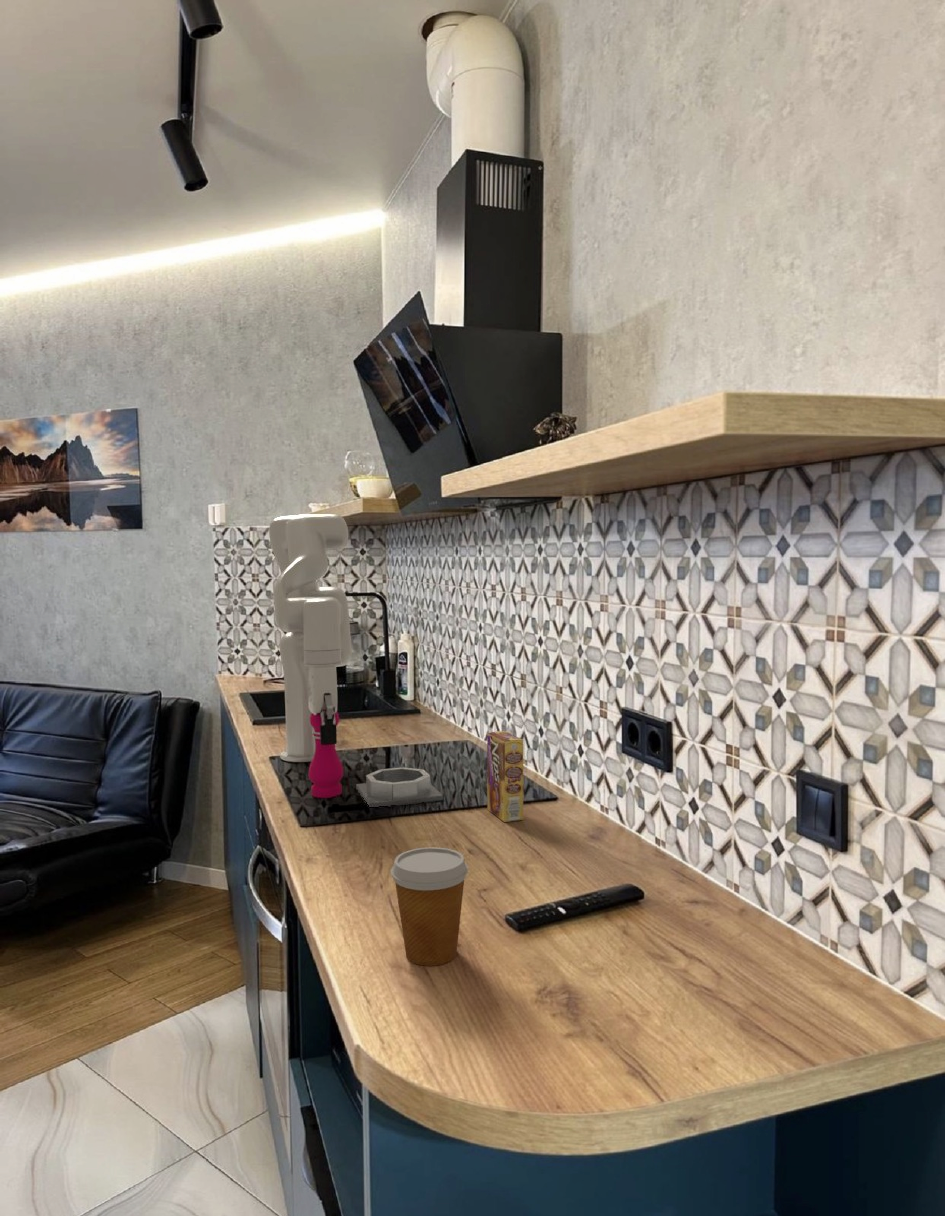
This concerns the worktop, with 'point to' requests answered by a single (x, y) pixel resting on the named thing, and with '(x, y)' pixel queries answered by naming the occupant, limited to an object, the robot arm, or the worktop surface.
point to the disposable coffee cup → (430, 902)
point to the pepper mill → (324, 764)
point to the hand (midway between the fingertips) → (325, 739)
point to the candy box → (505, 776)
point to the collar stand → (398, 787)
